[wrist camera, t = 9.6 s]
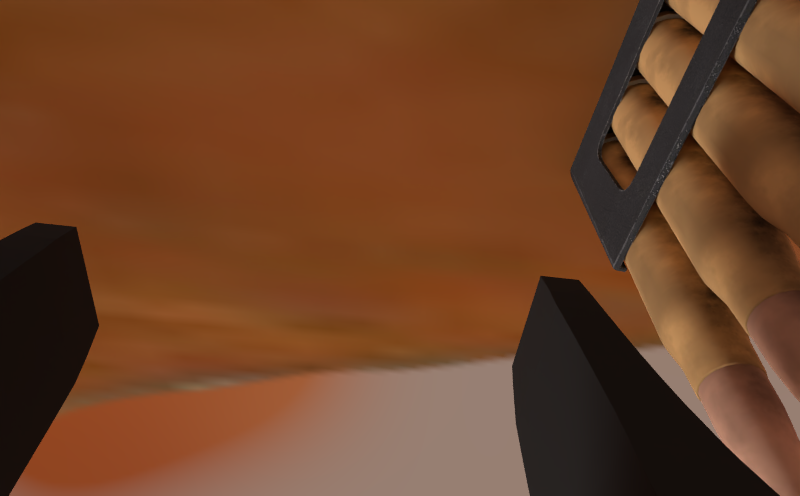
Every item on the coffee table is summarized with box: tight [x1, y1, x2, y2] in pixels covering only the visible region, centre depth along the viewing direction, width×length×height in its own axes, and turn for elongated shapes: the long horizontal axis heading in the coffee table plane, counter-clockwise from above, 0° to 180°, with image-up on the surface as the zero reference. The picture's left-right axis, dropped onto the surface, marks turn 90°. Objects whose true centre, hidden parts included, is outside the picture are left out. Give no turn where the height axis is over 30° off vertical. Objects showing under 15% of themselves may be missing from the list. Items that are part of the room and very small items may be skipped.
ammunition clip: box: [571, 0, 800, 496], centre depth 11 cm, size 11×2×12 cm, turn 169°
